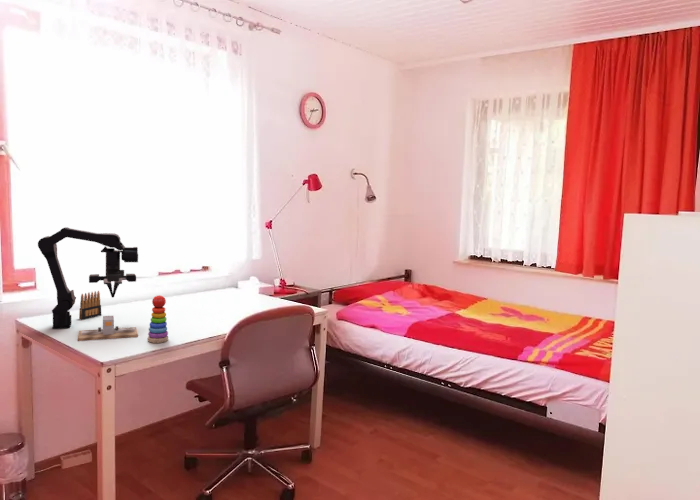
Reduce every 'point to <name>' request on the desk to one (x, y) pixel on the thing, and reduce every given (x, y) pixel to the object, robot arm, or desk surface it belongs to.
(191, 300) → the desk surface
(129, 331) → the rail base
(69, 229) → the robot arm
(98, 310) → the ammunition clip
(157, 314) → the stacking toy
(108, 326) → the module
